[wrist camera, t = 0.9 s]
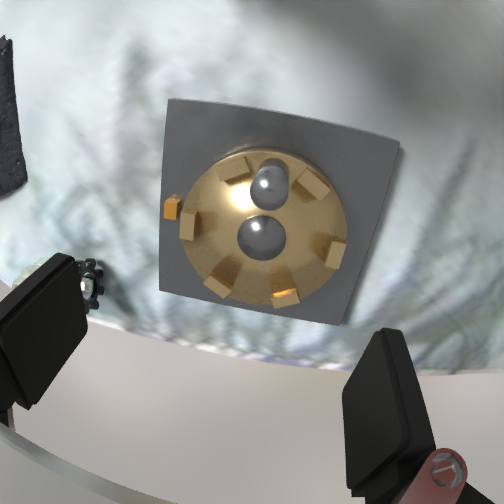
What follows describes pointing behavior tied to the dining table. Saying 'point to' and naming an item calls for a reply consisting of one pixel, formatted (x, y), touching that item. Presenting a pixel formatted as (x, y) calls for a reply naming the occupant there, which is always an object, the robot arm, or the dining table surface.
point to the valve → (85, 280)
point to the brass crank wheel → (263, 227)
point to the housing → (285, 138)
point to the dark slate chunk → (9, 125)
